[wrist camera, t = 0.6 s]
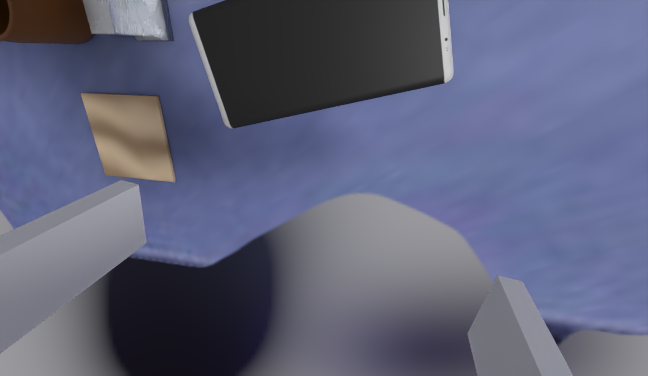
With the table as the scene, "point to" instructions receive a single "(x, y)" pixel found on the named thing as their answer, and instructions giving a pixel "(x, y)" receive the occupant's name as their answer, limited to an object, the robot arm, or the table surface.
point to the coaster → (130, 135)
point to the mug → (44, 21)
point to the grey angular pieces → (130, 18)
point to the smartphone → (318, 53)
